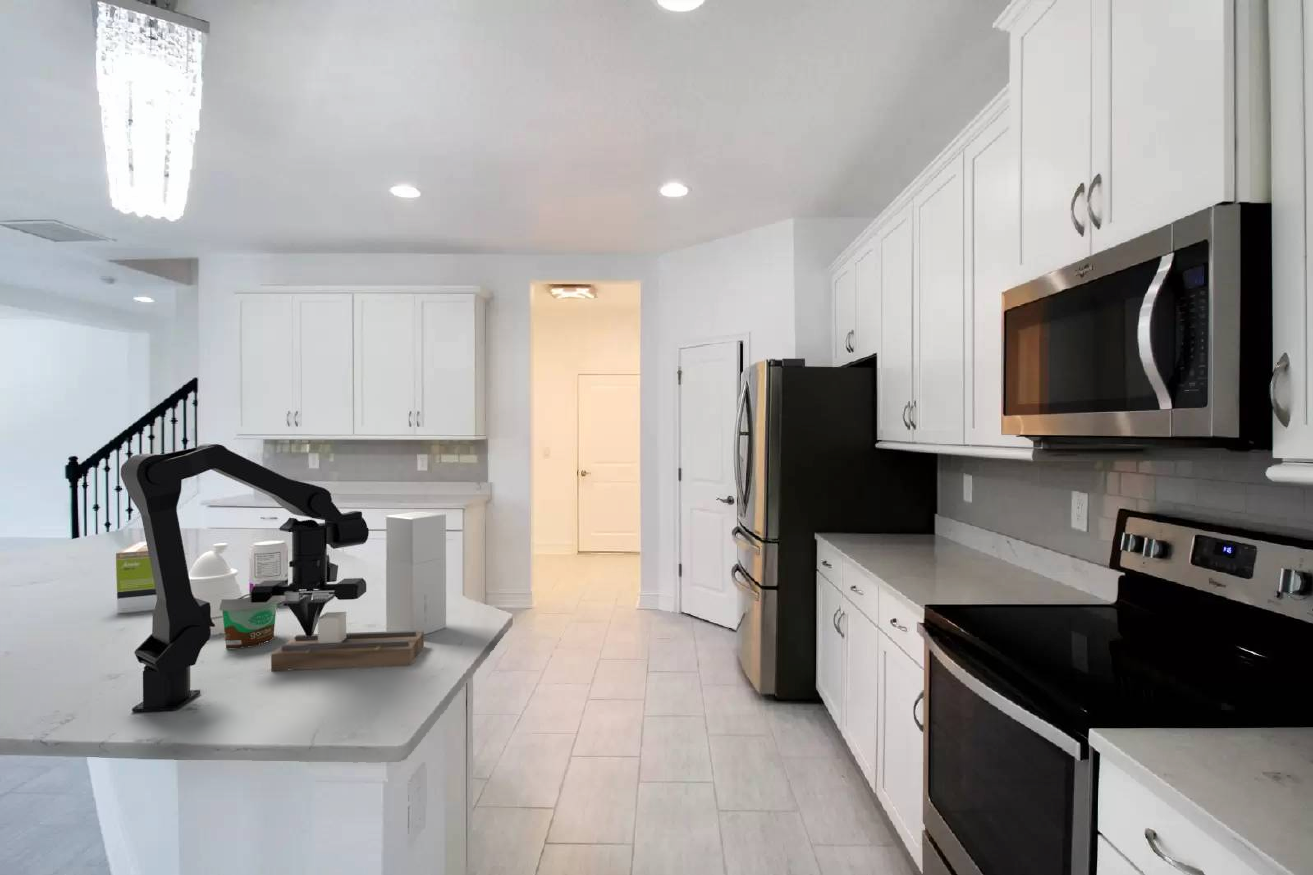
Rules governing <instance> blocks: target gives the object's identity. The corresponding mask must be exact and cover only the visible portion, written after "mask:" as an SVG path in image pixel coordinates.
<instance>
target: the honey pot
mask: <svg viewBox="0 0 1313 875" xmlns="http://www.w3.org/2000/svg"><path fill="white" fill-rule="evenodd" d="M212 547H213V549H214V550H209V551H206V552H204V553H202V554H201V555H200V556H199V557H198V558H197V559H196V561H195V562H194V563H193V565H192V567H191V568H190V570H189V571H188V574H189V580H190V585H191V590H192V594H193V596H194V598H197V599H200V600H203V601H206V602H209V603H210V607H211V620H212V622H213V623H214V624H215V626H214V627H210V628H211V636H216V635H221V634H225V633H224V622H223V612H222V611H220V610H219V609H220V603H222V599H238V598H240V597H242V596H243V595H242V590H241V589H240V586H241V585H240V584H239V583H238V581H237V580H236V576H237V575H238V574H239V570H237V569H235V568H231V567H230V565H229V564H228V563H227V561H226V560H225V559H224V558H223V556H222V555H220V554H223V553H224V552H226V550H227V547H228V543H224V542H222V543H221V542H220V543H214V544H213V546H212ZM220 633H221V634H220Z"/></svg>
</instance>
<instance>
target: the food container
mask: <svg viewBox="0 0 1313 875" xmlns="http://www.w3.org/2000/svg"><path fill="white" fill-rule="evenodd" d="M280 599H281V597H280V596H272V598H271V599H270V600H269V601H268V602H257V603H251V602H250V596H249V593H248V594H244V595H242V597H240V598H238V599H222V603H220V609H219V610H220V611H222V612H223V622H224V632H225V633H224V640H225V649H227V648H236V649H242V648H241V647H246V648H249V647H248V646H252V647H256V645H257V646H260V645H262V644H261V643H264V642H266V641H269V642H270V640H271V639H272V638H273V637H275V627H276V613H277V605H278V604H277V601H279V600H280ZM273 639H274V638H273ZM273 639H272V640H273ZM272 640H271V641H272ZM266 643H267V642H266ZM259 644H260V645H259ZM264 644H265V643H264Z"/></svg>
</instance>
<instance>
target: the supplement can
mask: <svg viewBox="0 0 1313 875" xmlns="http://www.w3.org/2000/svg"><path fill="white" fill-rule="evenodd" d="M248 554H249V555H248V562H249V563H248V564H249V566H248V568H249V569H248V570H249V571H248V572H249V574H248V575H249V576H248V577H249V578H248V579H249V580H248V581H249V585H248V586H249V588H248V590H249V593H250V591H251V589H252V588H253V587H254V586H256V585H258V584H260V583H262V582H264V581H272V580H284V581H285V583H286V585H289V546H288V545H287V543H286V541H285V540H282V539H272V540H271V539H270V540H269V539H268V540H261V541H256V542H255V541H254V542H253V543H252V544H251V546H250V548H249V550H248ZM249 593H248V594H249ZM280 597H281V599H280V600H279V601H277V605H278V604H281V603H282V604H283V603H284V602H285V596H280Z"/></svg>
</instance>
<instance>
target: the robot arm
mask: <svg viewBox="0 0 1313 875" xmlns="http://www.w3.org/2000/svg"><path fill="white" fill-rule="evenodd" d="M210 470H211V471H213V472H216V473H218V474H220V475H222V476H224V477H226V478H229V479H232V480H233V481H235V482H238V483H240V484H242V485H244V486H247V487H249V488H251V489H253V490H255V491H258V492H260V493H262V494H264V495H267V496H268V497H270V498H271V499H273V500H274V501H275V502H276V503H277V504H278V506H280V507H282V508H283V509H285V510H286V511H287V512H289V513H290V514H292V515H296V516H300V517H307V518H310V519H305V520H298V518H295V517H289V518H288V519H287V520H286V522H284V523H283V524H282V525H280V526H279V527H278V529H279V531H280V532H287V533H291V543H292V544H291V560H289V561H288V568H292V569H291V578H292V580H291V582H290V583H288V585H286V583H285V581H284V580H272V581H264V582H262V583H260V584H258V585H256V586H254V587H253V588H252V589H251V591H250V593H248V594H249V596H250V602H251V603H257V602H268V601H269V600H270V599H271V598H272V596H285V601H284V602H282V605H283V606H284V607H288V608H289V609H290V610H291V612H292V614H294V615H293V616H295V618H296V619H297V621H298V623H299V624H300V626H301V628H302V630H303V631H304V635H305V634H306V636H312V635H313V634H315V631H316V627H317V626H318V618H319V617H321V614H322V612H323V609H324V608H325V605H326V604H327V603H330V601H332V600H333V599H334V598H336V599H337V600H338V601H344V600H345V601H348V600H351V601H353V600H356V599H359V598H361V596H363V595H364V594H365V593H367V581H366V580H365V579H364V578H362V577H354V578H351V577H350V578H343V579H342V580H340V581H339V582H337V580H338V573H339V572H338V570H339V565H338V564H335V563H332V562H331V561H330V559H331V558H330V555H329V554H328V552H327V551H328V550H327V549H328V546H330V548H332V549H334V550H335V549H336V550H337V549H341V548H348V547H355V546H360V545H364V544H366V542H368V538H369V534H370V533H369V532H370V531H369V528H368V525H367V522H366V520H365V519H364V517H363V512H362V511H361V510H353V511H348V512H343V513H342V512H341V511H340V510H339V508H338V507H337V506H336V505H335V503H334V502H333V499H332V493H331V492H330V491H329V490H328V489H327V488H325V487H322V486H318V485H314V484H312V483H309V482H308V483H307V482H303V481H299V480H296V479H294V480H293V479H291V478H287V477H285V476H283V475H281V474H279V473H277V472H276V471H274V470H271V469H269V468H266V467H265V466H263V465H260V463H259V464H258V463H257V462H254V461H252V460H250V459H248V458H246V457H244V456H242V455H240V454H238V453H236V452H234V451H232V450H230V449H228V448H227V447H226V446H224V445H222V444H218V443H203V444H200V445H198V446H195V447H190V448H187V449H180V450H176V451H171V452H167V453H163V454H159V453H139V454H135V455H133V456H130V457H129V458H128V459H127V460H125V462H124V463H123V464H122V465H121V468H120V477H121V480H122V482H123V485H124V486H125V489H126V491H127V492H126V493H128V496H129V498H130V499H131V501H132V502H133V503H134V506H136V508H137V510H138V512H139V513H140V517H141V521H142V527H143V531H144V532H143V533H144V536H145V537H144V538H145V542H146V543H147V548H148V553H149V558H150V564H151V569H152V574H153V579H154V584H155V589H156V595H157V602H156V606H155V610H153V614H152V625H151V627H152V629H151V634H150V635H149V636H148V637H147V638H146V639H145V640H144V641H143V642H142V643H141V644H140V645H139V646H138V647H137V648H136V649H135V650H134V653H133V654H134V655H135V657H136V659H137V661H138V663H139V664H143V665H145V666H144V667H143V670H142V702H140V703H138V704H136V705H134V706H133V707H132V708H131V712H132V713H136V712H139V713H140V712H156V711H174V710H178V709H180V708H181V707H183V706H184V705H185V704H187V703H189V701H191V700H193V699H194V698H196V697H197V696H198V695H199V694H201V689H191V667H192V666H195V665H196V664H197V661H198V658H199V655H200V653H201V651H202V648H204V646H205V645H206V644H207V643H208V641H210V640H211V636H212V635H211V628H210V627H214V626H215V624H214V623H213V622H212V620H211V607H210V603H209V602H206V601H203V600H200V599H197V598H194V596H193V594H192V590H191V585H190V580H189V574H188V573H189V570H188V563H187V558H186V554H185V548H184V543H183V537H182V532H181V527H180V521H179V515H178V511H177V510H178V509H177V508H178V505H179V500H180V496H181V493H182V482H183V481H182V480H185V479H188V478H192V477H195V476H197V475H200V474H202V473H205V472H207V471H208V472H209V471H210ZM317 520H322V521H324V522H319V523H318V522H317ZM336 582H337V583H336Z"/></svg>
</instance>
